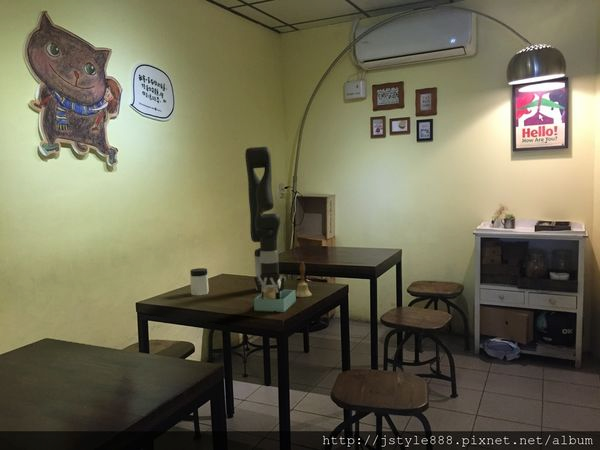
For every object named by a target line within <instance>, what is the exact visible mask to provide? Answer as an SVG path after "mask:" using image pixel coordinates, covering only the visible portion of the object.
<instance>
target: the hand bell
mask: <svg viewBox="0 0 600 450" xmlns="http://www.w3.org/2000/svg"><path fill="white" fill-rule="evenodd" d="M305 272H306V265H305V262H304V261H301V262H300V264H299V273H300V282H299V283H298V284H297V290H296V291H295V295H296V297H297V298H307V297H311V296H312V294H313V293H312V292H310V290H309V287H308V283H306V282H305Z"/></svg>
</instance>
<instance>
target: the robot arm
mask: <svg viewBox="0 0 600 450" xmlns="http://www.w3.org/2000/svg"><path fill="white" fill-rule="evenodd" d="M244 154H245V155H244V156H245V157H244V159H245V166H246V174H247V183H248V184H247V186H248V189H247V190H248V206H249V215H250V218H249V219H250V221H249V222H250V229H249V230H250V232H249V233H250V239H251V241H252V242H253V243H259V245H260V247H258V248H257V249H255V250H254V251H253V252H254V270H255V271H254V272H255V277H253V279H254V282H255V290H256V291H258V292H261V294H262V299H263V296H264V288H265V287H270V285H273V287H274V288H275V291H276V299H277V300H279V299H280V291H283V290H285V288H286V281H287V276H282V275H280V269H279V268H280V267H279V252H278V234H279V229H280V226H281V219H280V215H279V214H278V213H275V212H274V213H265V212H269V211H271V210H273V208H274V197H273V189H272V179H273V176H272V175H273V174H272V173H273V172H272V155H271V150H270V148H269V147H268V146H257V147H256V146H255V147H248V148H246V150H245V153H244ZM255 169H264V171H263V175H262V176H261V179H260V178H259V177H258V175H257V173H256V171H255ZM279 279H280V281H281V285H280V288H279V284H278V282H277V281H278V280H279Z"/></svg>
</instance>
